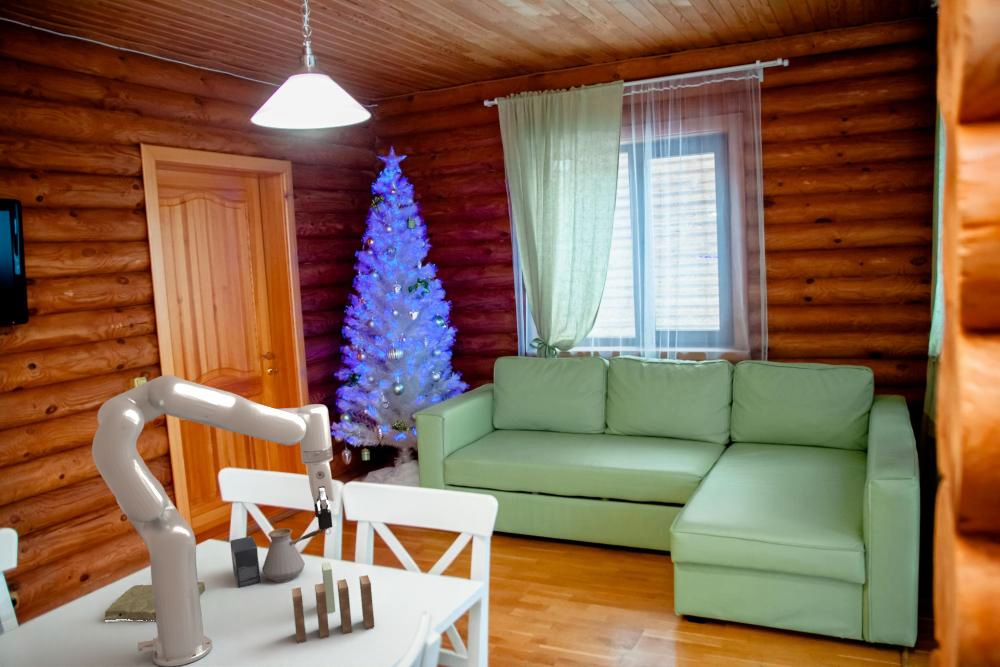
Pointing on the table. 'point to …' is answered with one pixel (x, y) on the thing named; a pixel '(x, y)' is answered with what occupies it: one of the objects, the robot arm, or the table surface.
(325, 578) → the domino
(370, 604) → the domino
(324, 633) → the domino
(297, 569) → the coffee pot
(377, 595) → the table surface
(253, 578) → the small box
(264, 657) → the table surface
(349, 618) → the domino
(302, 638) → the domino
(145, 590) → the decorative tile
